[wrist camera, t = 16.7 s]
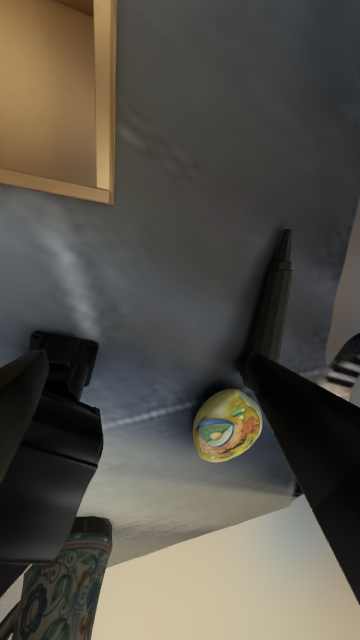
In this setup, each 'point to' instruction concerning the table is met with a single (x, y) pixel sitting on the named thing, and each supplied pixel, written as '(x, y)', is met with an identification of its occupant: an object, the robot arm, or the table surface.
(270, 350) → the microphone
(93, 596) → the beer stein
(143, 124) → the table surface
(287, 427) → the robot arm
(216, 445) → the plant cell model
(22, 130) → the divided wooden tray
